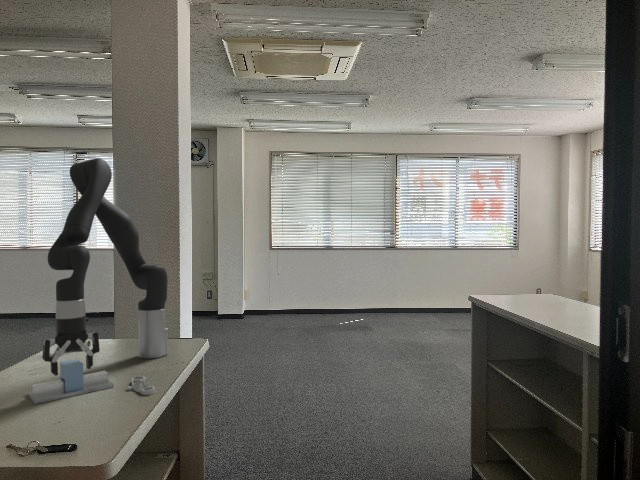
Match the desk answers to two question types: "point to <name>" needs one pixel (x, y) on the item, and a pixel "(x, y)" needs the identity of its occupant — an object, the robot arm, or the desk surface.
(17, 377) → the desk surface
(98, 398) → the desk surface
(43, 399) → the din rail
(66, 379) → the block
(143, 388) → the bracket
